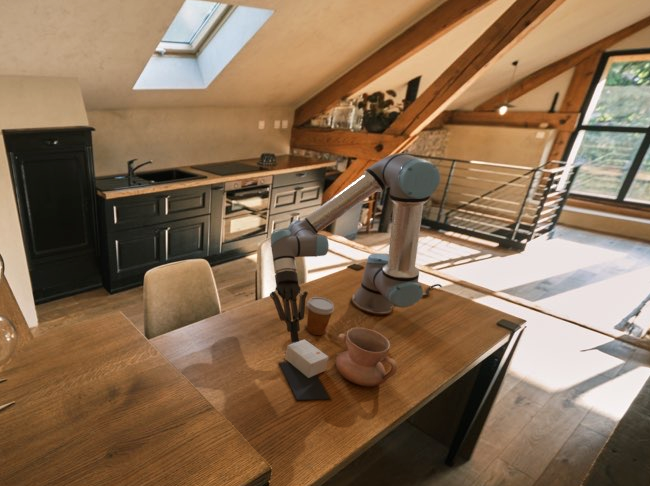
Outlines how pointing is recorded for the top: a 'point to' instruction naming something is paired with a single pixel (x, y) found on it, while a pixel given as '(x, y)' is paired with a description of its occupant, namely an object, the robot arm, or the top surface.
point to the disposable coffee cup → (318, 314)
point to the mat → (303, 384)
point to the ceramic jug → (364, 357)
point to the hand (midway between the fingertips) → (295, 341)
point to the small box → (306, 358)
